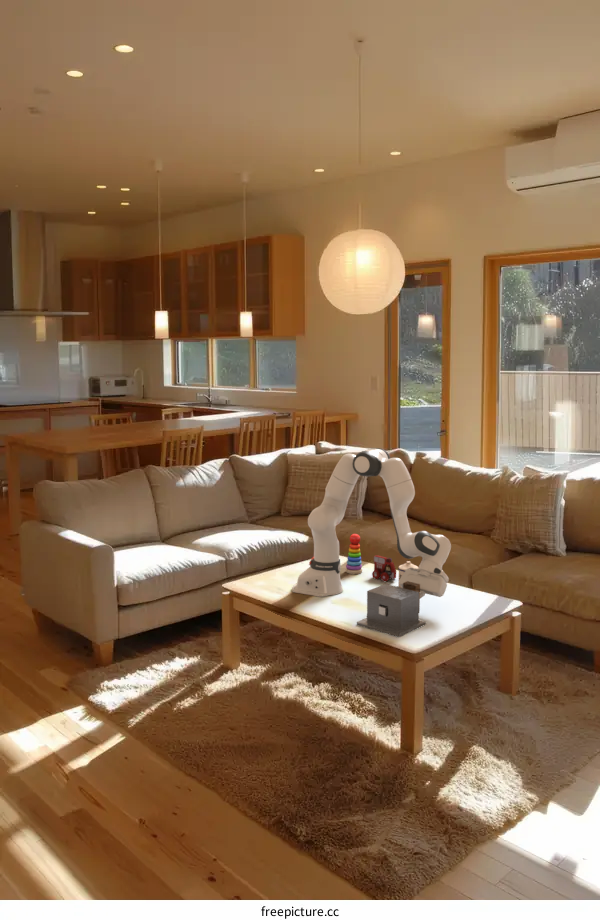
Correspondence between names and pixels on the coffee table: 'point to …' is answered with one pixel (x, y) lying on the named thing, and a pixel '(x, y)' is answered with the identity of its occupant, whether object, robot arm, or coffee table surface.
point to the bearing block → (392, 610)
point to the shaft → (406, 585)
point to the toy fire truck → (383, 568)
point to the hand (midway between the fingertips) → (414, 600)
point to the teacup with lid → (403, 568)
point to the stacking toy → (354, 556)
